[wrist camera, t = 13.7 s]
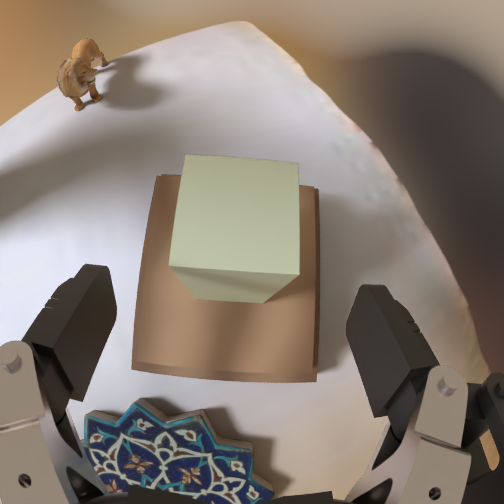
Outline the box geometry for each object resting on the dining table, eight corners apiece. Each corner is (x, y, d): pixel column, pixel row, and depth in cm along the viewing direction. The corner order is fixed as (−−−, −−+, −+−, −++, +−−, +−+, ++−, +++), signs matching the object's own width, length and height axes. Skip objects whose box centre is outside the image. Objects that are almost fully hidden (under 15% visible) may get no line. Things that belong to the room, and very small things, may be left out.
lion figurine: (113, 114, 29) (91, 59, 20) (74, 131, 28) (44, 81, 19) (107, 55, 32) (94, 10, 23) (75, 68, 31) (58, 26, 22)
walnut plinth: (142, 365, 22) (123, 372, 17) (163, 191, 27) (152, 163, 22) (305, 376, 23) (324, 386, 18) (309, 203, 28) (325, 177, 23)
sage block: (196, 298, 19) (168, 265, 10) (202, 235, 21) (185, 154, 11) (262, 303, 20) (299, 274, 10) (265, 239, 21) (298, 163, 11)
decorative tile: (199, 572, 16) (199, 583, 13) (48, 477, 17) (38, 484, 15) (314, 471, 21) (321, 481, 19) (133, 354, 23) (124, 356, 20)
